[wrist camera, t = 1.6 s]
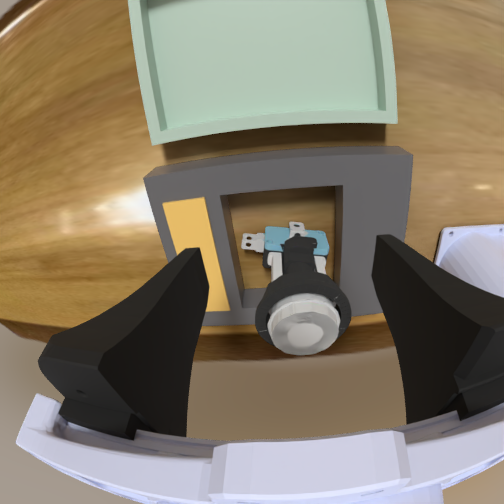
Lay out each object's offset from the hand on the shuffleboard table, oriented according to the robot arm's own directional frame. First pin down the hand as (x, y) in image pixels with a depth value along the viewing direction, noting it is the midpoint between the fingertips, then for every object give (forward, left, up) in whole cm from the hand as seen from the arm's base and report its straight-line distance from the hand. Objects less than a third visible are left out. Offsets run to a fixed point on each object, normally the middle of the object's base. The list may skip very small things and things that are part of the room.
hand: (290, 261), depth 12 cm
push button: (0, +5, -11) cm, 12 cm away
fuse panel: (0, +5, -10) cm, 11 cm away
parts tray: (0, -10, -10) cm, 14 cm away
